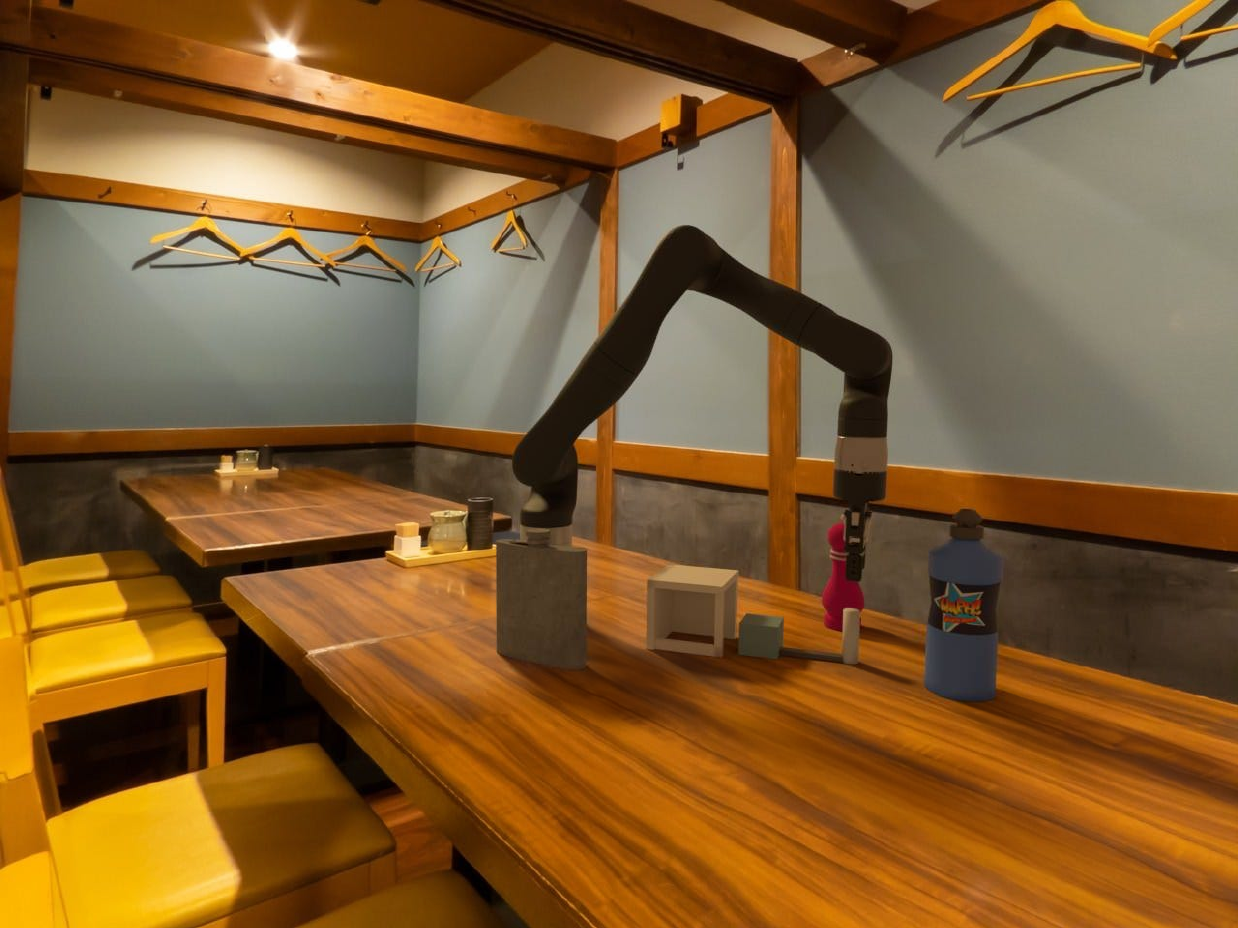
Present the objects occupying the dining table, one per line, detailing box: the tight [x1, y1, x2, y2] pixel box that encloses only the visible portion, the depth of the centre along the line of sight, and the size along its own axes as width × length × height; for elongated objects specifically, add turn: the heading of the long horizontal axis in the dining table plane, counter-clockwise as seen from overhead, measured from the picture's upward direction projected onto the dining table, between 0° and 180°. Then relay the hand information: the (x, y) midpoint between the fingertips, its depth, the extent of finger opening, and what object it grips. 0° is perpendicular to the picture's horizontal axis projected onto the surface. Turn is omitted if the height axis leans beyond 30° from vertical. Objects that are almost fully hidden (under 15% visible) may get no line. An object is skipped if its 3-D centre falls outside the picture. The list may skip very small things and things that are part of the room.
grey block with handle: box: [737, 608, 861, 665], centre depth 119 cm, size 18×6×8 cm, turn 70°
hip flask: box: [495, 528, 588, 671], centre depth 115 cm, size 16×4×20 cm, turn 61°
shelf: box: [645, 564, 739, 658], centre depth 125 cm, size 12×12×11 cm
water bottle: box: [923, 508, 1005, 703], centre depth 105 cm, size 9×9×25 cm
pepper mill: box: [821, 513, 865, 632], centre depth 134 cm, size 7×7×20 cm
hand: (855, 574), depth 115 cm, fingers open, 8 cm apart
